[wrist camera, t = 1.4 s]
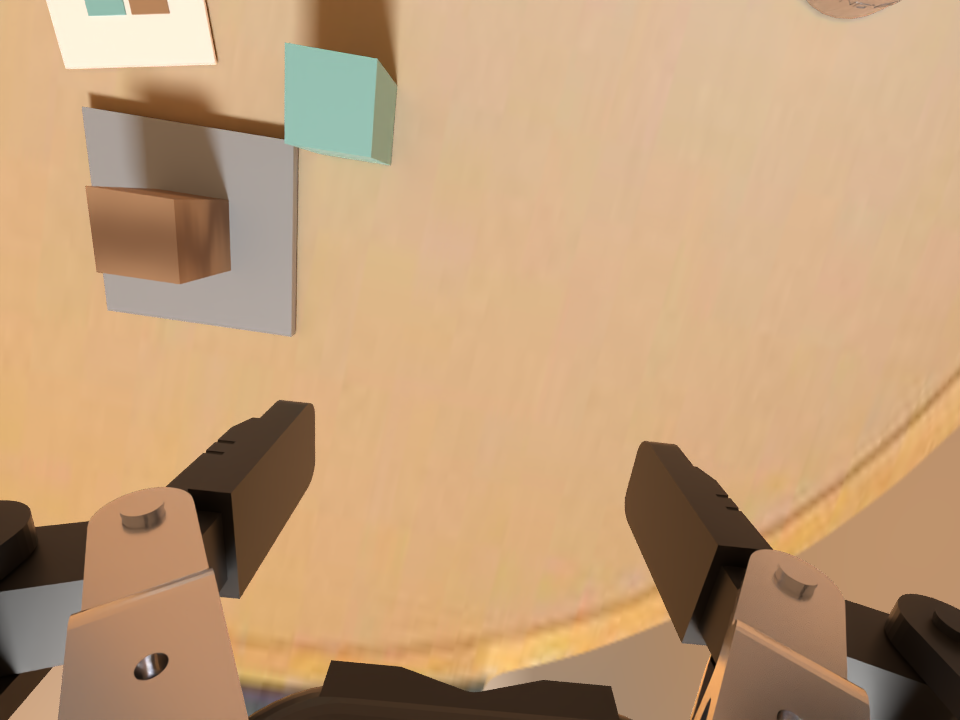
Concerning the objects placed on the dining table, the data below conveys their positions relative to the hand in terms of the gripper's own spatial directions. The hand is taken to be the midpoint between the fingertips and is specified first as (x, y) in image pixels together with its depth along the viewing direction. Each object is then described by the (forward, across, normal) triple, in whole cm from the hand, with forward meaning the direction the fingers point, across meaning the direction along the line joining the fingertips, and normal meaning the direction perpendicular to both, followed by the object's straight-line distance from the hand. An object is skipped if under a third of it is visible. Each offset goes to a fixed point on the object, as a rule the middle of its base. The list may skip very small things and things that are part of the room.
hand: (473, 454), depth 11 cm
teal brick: (+25, +10, -10) cm, 29 cm away
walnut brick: (+24, +21, -1) cm, 32 cm away
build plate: (+25, +21, -1) cm, 32 cm away
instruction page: (+25, +25, -15) cm, 38 cm away
